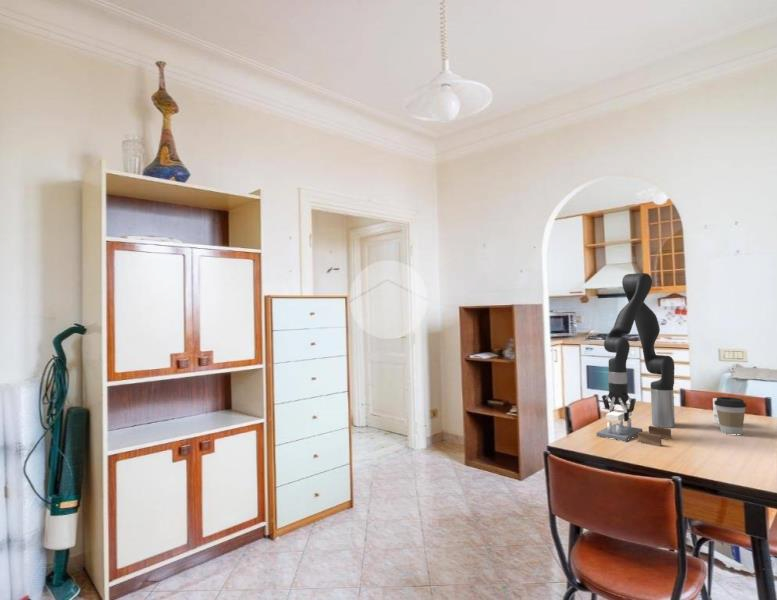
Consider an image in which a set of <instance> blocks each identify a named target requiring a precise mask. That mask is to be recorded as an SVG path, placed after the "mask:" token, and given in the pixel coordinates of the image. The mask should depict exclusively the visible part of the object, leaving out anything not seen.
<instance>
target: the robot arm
mask: <svg viewBox="0 0 777 600" xmlns="http://www.w3.org/2000/svg"><path fill="white" fill-rule="evenodd" d="M621 283H622V288H623V291H624V295H625V297H626V299H627V304H626V305H624V307H622V308H621V310H620V311H619V312H618V314H617V317H616V318H615V323H614V325H613V327H612V329H611V330H610V331H609V332H608V334H607V335H606V337H605V339H604V341H603V347H604V350H605V351H606V352H608V353H613V354H614V353H615V356H614V357H612V358H610V359H608V376H607V377H608V378H607V381H608V394H604V395H601V399H602V402H603V406H604V409H605V410H608V411H609V413H610V412H612V411H614V410H615V407H616V405H619V406H621V408H623V410H624V412H625V413H624V419H623V422H627V421H628V420H629V418H630V416H629V412H632V413H633V412H634V409H635V406H636V401H637V398H636V397H634V398H632V397H630V396H629V394H628V392H629V389H628V373H627V360H628V356H629V353H630V349H631V347H630V342H629V340H628V339H627V338H625V337H624V336H628V335H630V334H631V331H632V328H633V325H634V322H635V328H636V329H637V330H636V331H637V333H638V337H639V340H640V343H641V348H642V353H643V359H644V364H645V368H646V371H647V372H649V373H650V374H652V375H659V376H660V375H661V376H660V377H661V378H660V379H659V380H655V381H654V380H653V381H651V382H650V403H651V424H652V426H654V427H659V426H660V428H674V427H676V421H675V398H674V397H675V396H674V385H675V361H674V359H673V357H672V356H670V355H664V354H663V355H662V354H656V352H655V343H656V341H657V339H658V337H659V334H660V332H661V331H660V330H661V328H660V323H659V321H658V317H657V315H656V314H655V313H654V311H653V310H652V309H651V308H650V307H649V306H648V305H647V304H646V303H645V300H646V299H647V296H648V295H649V293H650V291H651V289H652V285H653V278H652V276H651V275H650V273H649V274H648V273H645V272H640V273H637V272H636V273H627V274H625V275H624V276H623V277H622V282H621ZM609 400H610V401H611V402H609ZM627 402H629V403H630V404H629V406H628V403H627Z"/></svg>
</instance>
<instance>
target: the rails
mask: <svg viewBox="0 0 777 600" xmlns="http://www.w3.org/2000/svg"><path fill="white" fill-rule="evenodd" d="M637 438H638V439H637V440H638V441H637V442H638V443H639V442H641V444H645V443H646V444H645V445H651V446H657V447H661V446H662V443H663V442H662V439H664V438H665V439H666V440H669V439H670V440H671V439H672V428H668V427H659V426H655V425H649V426H648V432H643V431H642V432H638V435H637ZM665 439H664V440H665Z"/></svg>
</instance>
